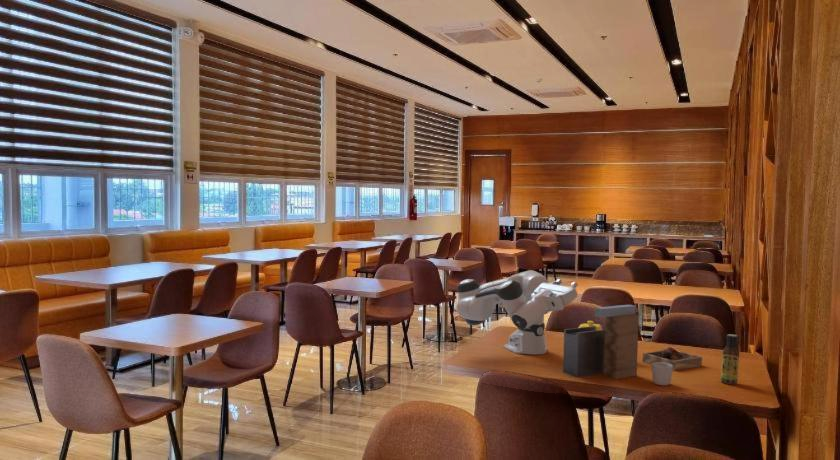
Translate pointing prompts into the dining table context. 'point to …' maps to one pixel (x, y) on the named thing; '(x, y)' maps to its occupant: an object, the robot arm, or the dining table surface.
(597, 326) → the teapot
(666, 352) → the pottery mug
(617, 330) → the post
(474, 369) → the dining table surface
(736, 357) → the sauce bottle
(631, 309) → the rail
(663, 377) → the cup
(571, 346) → the dark gray box
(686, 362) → the caddy
